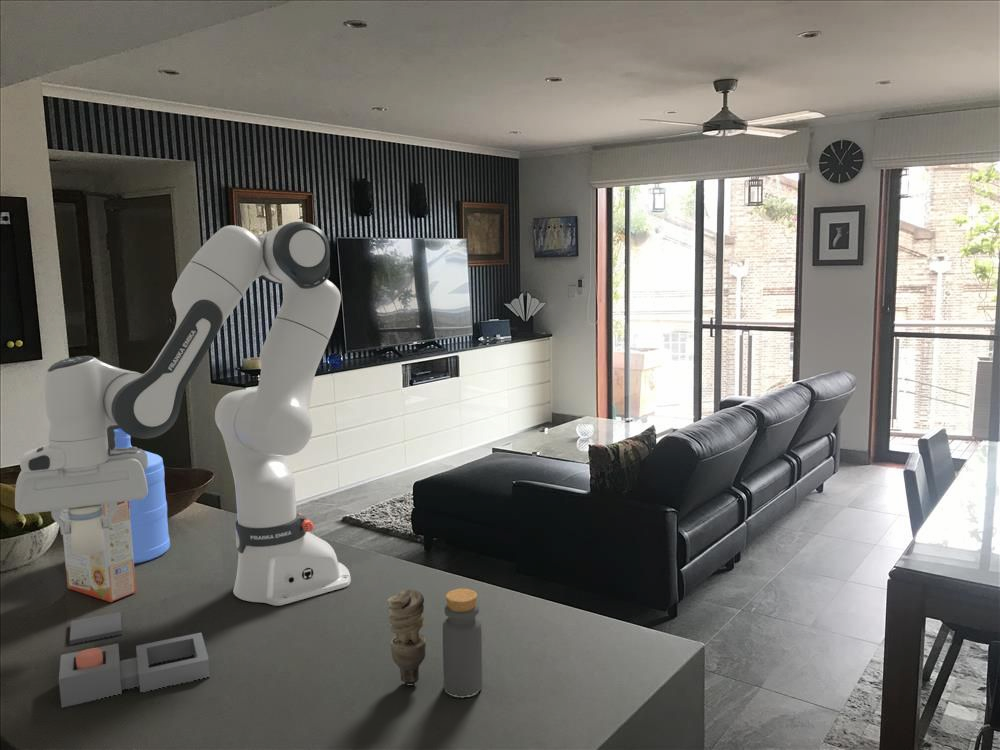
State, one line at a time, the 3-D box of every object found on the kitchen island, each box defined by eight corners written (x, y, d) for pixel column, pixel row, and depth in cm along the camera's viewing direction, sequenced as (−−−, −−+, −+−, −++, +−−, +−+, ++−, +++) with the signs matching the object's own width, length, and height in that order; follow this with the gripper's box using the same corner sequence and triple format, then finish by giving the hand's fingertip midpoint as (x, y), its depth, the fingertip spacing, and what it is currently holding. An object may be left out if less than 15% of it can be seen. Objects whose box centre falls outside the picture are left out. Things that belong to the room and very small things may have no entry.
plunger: (105, 676, 125) (102, 646, 124) (105, 687, 122) (102, 656, 121) (79, 681, 124) (76, 651, 123) (78, 693, 121) (75, 662, 120)
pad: (120, 616, 147) (120, 611, 147) (121, 634, 140) (121, 630, 140) (71, 625, 144) (71, 621, 143) (70, 644, 137) (69, 640, 136)
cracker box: (138, 592, 157) (129, 489, 154) (110, 604, 152) (100, 497, 149) (95, 578, 164) (85, 479, 161) (66, 589, 159) (56, 487, 156)
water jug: (185, 548, 180) (176, 426, 176) (120, 572, 167) (109, 441, 163) (142, 536, 188) (132, 419, 184) (77, 558, 175) (65, 432, 171)
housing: (202, 649, 135) (200, 623, 134) (210, 677, 126) (208, 650, 125) (64, 678, 126) (61, 651, 125) (61, 711, 117) (58, 682, 116)
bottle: (461, 674, 126) (460, 583, 124) (490, 686, 122) (489, 593, 120) (435, 690, 122) (433, 596, 119) (464, 703, 118) (462, 607, 116)
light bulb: (392, 696, 120) (389, 601, 118) (387, 677, 125) (384, 586, 123) (429, 690, 121) (427, 596, 119) (423, 672, 127) (420, 582, 124)
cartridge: (105, 543, 143) (101, 499, 142) (105, 552, 138) (101, 508, 137) (72, 547, 141) (68, 503, 139) (71, 558, 136) (67, 512, 135)
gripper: (145, 441, 144) (151, 515, 146) (13, 455, 135) (21, 533, 137) (147, 449, 138) (153, 526, 141) (9, 463, 130) (17, 545, 132)
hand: (86, 530), depth 139 cm, fingers closed on cartridge, 5 cm apart
